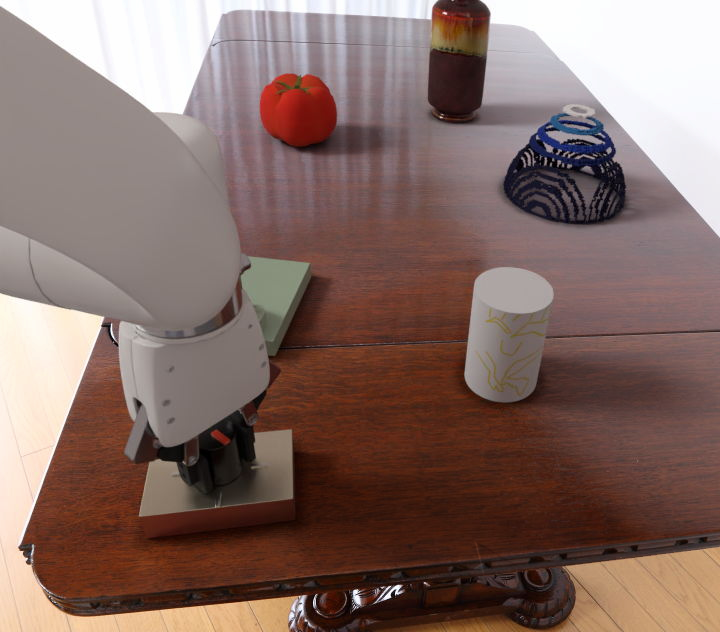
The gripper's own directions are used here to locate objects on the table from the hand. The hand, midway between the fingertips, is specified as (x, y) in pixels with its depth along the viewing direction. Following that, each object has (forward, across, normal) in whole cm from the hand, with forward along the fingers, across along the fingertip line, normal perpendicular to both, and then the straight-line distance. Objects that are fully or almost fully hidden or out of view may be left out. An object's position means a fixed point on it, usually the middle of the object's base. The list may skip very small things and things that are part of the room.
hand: (220, 466), depth 59 cm
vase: (+4, -87, -43) cm, 98 cm away
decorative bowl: (+4, -74, -9) cm, 75 cm away
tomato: (+4, -56, -54) cm, 78 cm away
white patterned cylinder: (+4, -29, +10) cm, 31 cm away
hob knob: (0, 0, 0) cm, 0 cm away
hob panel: (+3, 0, 0) cm, 3 cm away
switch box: (+3, -19, -19) cm, 27 cm away
